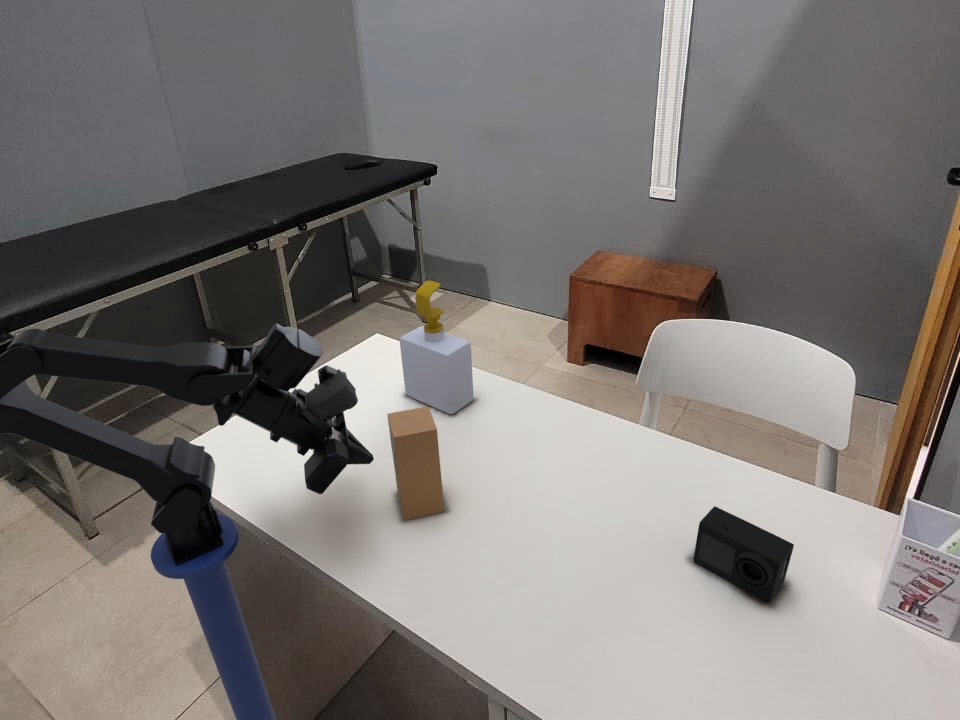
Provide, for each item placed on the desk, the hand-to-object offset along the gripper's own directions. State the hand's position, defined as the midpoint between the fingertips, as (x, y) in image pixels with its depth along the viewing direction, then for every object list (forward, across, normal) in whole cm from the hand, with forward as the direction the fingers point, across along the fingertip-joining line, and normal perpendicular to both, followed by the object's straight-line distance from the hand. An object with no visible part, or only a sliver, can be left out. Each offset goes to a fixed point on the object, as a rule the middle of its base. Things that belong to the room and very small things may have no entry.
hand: (371, 460), depth 92 cm
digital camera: (+37, -26, -23) cm, 51 cm away
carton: (+11, 0, +2) cm, 11 cm away
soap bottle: (+18, +28, -4) cm, 33 cm away
